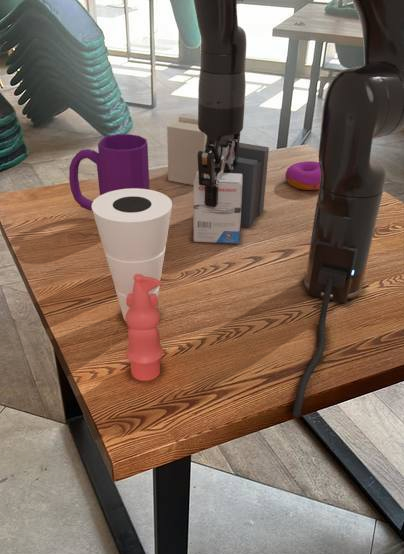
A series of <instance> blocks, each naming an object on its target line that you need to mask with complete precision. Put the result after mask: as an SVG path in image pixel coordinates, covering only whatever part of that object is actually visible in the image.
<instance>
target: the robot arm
mask: <svg viewBox="0 0 404 554" xmlns="http://www.w3.org/2000/svg"><path fill="white" fill-rule="evenodd" d="M245 1H246V0H193V5H194V10H195V16H196V22H197V27H198V31H199V36H200V60H199V61H200V63H199V64H200V65H199V66H200V67H199V71H200V72H199V78H198V86H197V87H198V89H197V90H198V92H197V93H198V99H197V101H198V102H197V116H198V128H199V130H200V131H201V132H203V133H205V134H206V135H207V141H206V144H205V149H204V152H203V151H199V152H198V175H199V185H203V186H205V205H206V206H210V207H216V206H217V204H218V185H219V178H220V174H221V173H231V172H233V170H234V166H236V165H237V160H238V150H239V143H240V140H241V132H242V131H243V129H244V119H245V104H246V103H245V102H246V86H247V83H246V60H247V35H246V31H245V30H244V29H243V28H242V27H241V26H239V22H238V5H240V4H241V3H244V2H245ZM351 2H352V4H353V6H354V8H355V11H356V13H357V15H358V18H359V19H358V20H359V22H360V23H359V24H360V26H361V32H362V41H363V65H360V66H355V67H354V66H353V67H349V68H344V70H341V71H339V72H338V73H337V74H335V75H334V76H333V78H332V79H331V81H330V83H329V84H328V87H327V90H326V93H325V96H324V101H323V107H322V113H321V125H320V134H319V135H320V136H319V146H318V162H319V166H320V171H321V178H320V185H319V189H318V191H317V199H316V203H315V210H314V217H313V224H312V231H311V239H310V245H309V251H308V258H307V266H306V270H305V271H306V272H305V275H304V281H303V283H304V287H305V288H306V290H307V296H311V297H316V298H320V299H322V302H321V306H320V312H319V317H318V326H317V337H318V343H317V347H316V351H315V353H314V355H313V357H312V358H311V361H310V362H309V363H308V365H307V366H306V368H305V369H304V371H303V373H302V376H301V378H300V381H299V383H298V387H297V390H296V395H295V399H294V403H293V404H294V405H293V408H292V412H291V415H292V416H293V417H294V418H299V417H300V416H301V413H302V407H303V403H304V399H305V393H306V389H307V386H308V383H309V380H310V378H311V376H312V374H313V373H314V371H315V369H316V368H317V366H318V364H319V363H320V361H321V359H322V357H323V355H324V352H325V348H326V322H327V321H326V320H327V314H328V310H329V309H328V308H329V304H330V301H332V302H336V303H341V304H346V303H347V301H349V300H352V299H355V298H356V297H358V296H359V295H361V293H362V290H363V286H364V278H365V274H366V268H367V265H368V261H369V255H370V252H371V251H370V250H371V248H372V247H371V246H372V242H373V237H374V233H375V229H376V223H377V220H378V215H379V211H380V206H381V202H382V198H383V193H384V189H385V184H386V180H387V170H386V169H385V167H384V166H383V165H382V164H381V163H379V162H377V161H375V160H373V159H371V153H372V146H373V141H374V140H373V139H378V138H381V137H387V136H391V135H393V134H396V133H399V132H400V131H401V130H402V129H404V0H351ZM214 165H218V167H214Z"/></svg>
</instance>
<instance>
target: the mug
mask: <svg viewBox="0 0 404 554" xmlns="http://www.w3.org/2000/svg"><path fill="white" fill-rule="evenodd" d="M148 147H149V146H148V140H147V138H145V137H142V136H141V135H137V134H130V133H122V134H121V133H119V134H118V133H117V134H112V135H108V136H104V137H102V138H101V140H100V141H99V142H98V143H97V148H98V151H95V150H94V149H89V148H87V149H81V150H80V151H78V152H77V153H76V154H75V155H74V156H73V158H72V159H71V161H70V164H69V169H68V170H69V173H68V174H69V175H68V181H69V186H70V191H71V193H72V196H73V199H74V201H75V202H76V203H77V204H78V205H79V206H80V207H81V208H83V209H85V210H87V211H89V212H93V211H92V203H93V201H94V200H91V199H88V198H87V197H86V196H84V195H83V193H82V191H81V188H80V180H79V167H80V164H81V162H82V160H84V159H88V160H89V161H91V162H92V163H94V164H95V165H96V171H97V180H98V181H97V183H98V191H99V196H100V195H102V194H105V193H107V192H111V191H115V190H120V189H130V188H138V189H148V190H151V188H150V169H149V148H148Z"/></svg>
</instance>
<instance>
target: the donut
mask: <svg viewBox="0 0 404 554" xmlns="http://www.w3.org/2000/svg"><path fill="white" fill-rule="evenodd" d="M284 178H285V179H284V180H286V182H287V183H288V185H290V186H291V187H293V188H295V189H297V190H302V191H303V190H304V191H305V190H306V191H316V190H317V191H319V185H320V178H321V171H320V166H319V161H314V160H313V161H309V160H308V161H307V160H306V161H299V162H295V163H292V164H291V165H289V166H288V167H287V169H286V171H285V176H284Z"/></svg>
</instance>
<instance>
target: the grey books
mask: <svg viewBox="0 0 404 554" xmlns="http://www.w3.org/2000/svg"><path fill="white" fill-rule="evenodd" d="M269 150H270V147H269V146H263V145H259V144H258V145H257V144H251V143H246V142H245V143H244V142H239V150H238V160H237V165H236V166H234V170H233V172H231V173H236V174H243V177H242V202H241V221H240V227H243V228H247V229H249V228H250V227H252V225H253V224H254V222H255V220H256V219H257V218H258V216H259V217H260V216H261V214H263V212H264V208H265V196H266V185H267V174H268V173H267V172H268V163H269ZM214 167H218V165H214Z"/></svg>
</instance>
